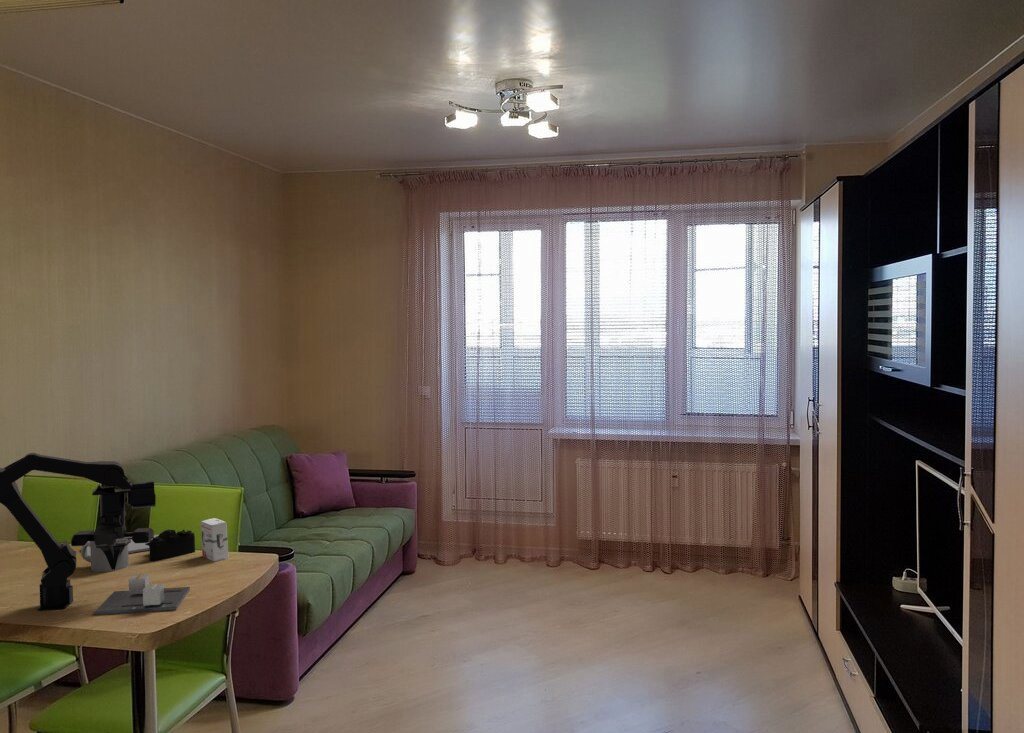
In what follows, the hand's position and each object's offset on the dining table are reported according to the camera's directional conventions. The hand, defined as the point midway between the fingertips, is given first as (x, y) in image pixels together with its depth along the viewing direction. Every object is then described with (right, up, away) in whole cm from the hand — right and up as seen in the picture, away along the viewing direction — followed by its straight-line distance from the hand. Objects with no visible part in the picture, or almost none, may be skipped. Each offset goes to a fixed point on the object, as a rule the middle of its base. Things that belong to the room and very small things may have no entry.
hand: (113, 569), depth 210 cm
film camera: (-3, -7, +40) cm, 41 cm away
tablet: (-19, -7, +48) cm, 52 cm away
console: (+9, -8, -3) cm, 13 cm away
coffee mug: (-16, -7, +28) cm, 33 cm away
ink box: (+13, -7, +37) cm, 40 cm away
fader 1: (+6, -6, +1) cm, 9 cm away
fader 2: (+14, -7, -7) cm, 17 cm away
